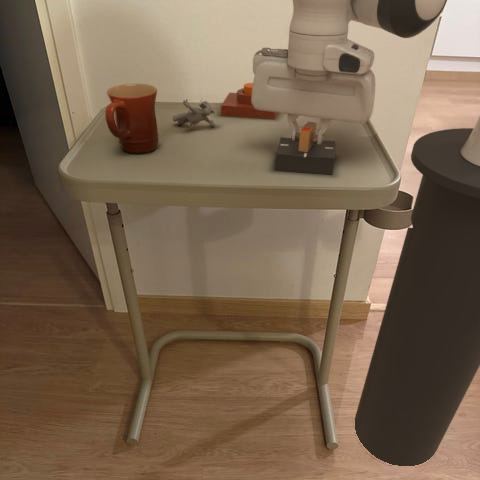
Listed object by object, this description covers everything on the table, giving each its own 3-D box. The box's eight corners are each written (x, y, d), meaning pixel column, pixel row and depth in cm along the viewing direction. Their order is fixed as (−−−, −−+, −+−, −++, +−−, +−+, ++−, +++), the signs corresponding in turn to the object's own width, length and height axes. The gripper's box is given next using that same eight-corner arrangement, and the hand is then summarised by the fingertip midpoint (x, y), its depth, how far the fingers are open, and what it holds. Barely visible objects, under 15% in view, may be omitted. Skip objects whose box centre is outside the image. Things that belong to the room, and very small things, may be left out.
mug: (134, 136, 93) (126, 81, 86) (171, 144, 90) (166, 87, 83) (96, 158, 85) (84, 98, 78) (136, 166, 82) (127, 105, 75)
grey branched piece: (194, 118, 102) (226, 110, 96) (190, 145, 101) (222, 137, 96) (161, 94, 94) (194, 84, 88) (157, 123, 93) (190, 113, 88)
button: (260, 91, 105) (260, 83, 104) (258, 96, 102) (258, 87, 101) (244, 90, 105) (245, 82, 104) (242, 95, 103) (242, 86, 101)
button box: (279, 105, 109) (280, 86, 106) (274, 119, 102) (275, 99, 99) (229, 102, 111) (229, 84, 108) (221, 115, 103) (220, 96, 100)
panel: (333, 155, 86) (335, 138, 84) (332, 176, 80) (335, 158, 78) (279, 152, 88) (281, 135, 86) (274, 171, 81) (275, 154, 79)
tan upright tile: (305, 141, 84) (308, 119, 81) (314, 142, 83) (317, 121, 81) (298, 151, 80) (300, 129, 78) (307, 152, 80) (309, 130, 77)
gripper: (246, 50, 72) (245, 139, 82) (378, 63, 67) (361, 157, 76) (259, 42, 77) (257, 128, 86) (385, 53, 71) (367, 143, 80)
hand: (306, 141), depth 81 cm, fingers closed
